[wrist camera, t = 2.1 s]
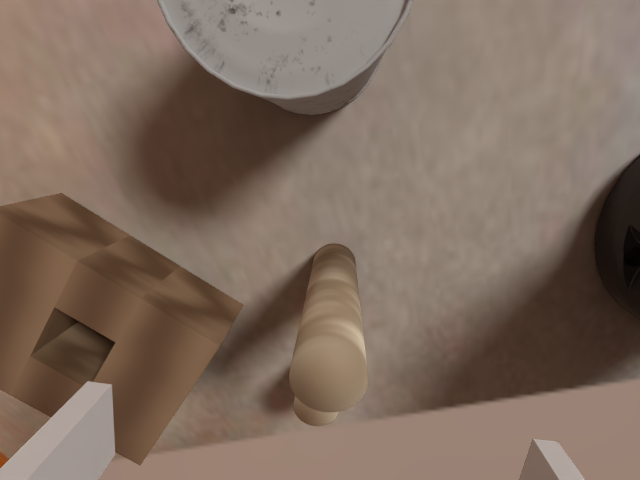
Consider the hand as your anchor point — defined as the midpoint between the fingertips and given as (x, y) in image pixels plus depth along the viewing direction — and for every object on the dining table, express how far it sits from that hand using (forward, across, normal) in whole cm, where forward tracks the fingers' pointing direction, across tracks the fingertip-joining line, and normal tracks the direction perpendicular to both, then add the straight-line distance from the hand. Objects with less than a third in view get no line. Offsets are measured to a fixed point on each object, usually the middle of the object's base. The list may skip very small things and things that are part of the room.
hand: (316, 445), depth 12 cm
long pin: (+18, 0, 0) cm, 18 cm away
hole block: (+18, +16, +6) cm, 25 cm away
